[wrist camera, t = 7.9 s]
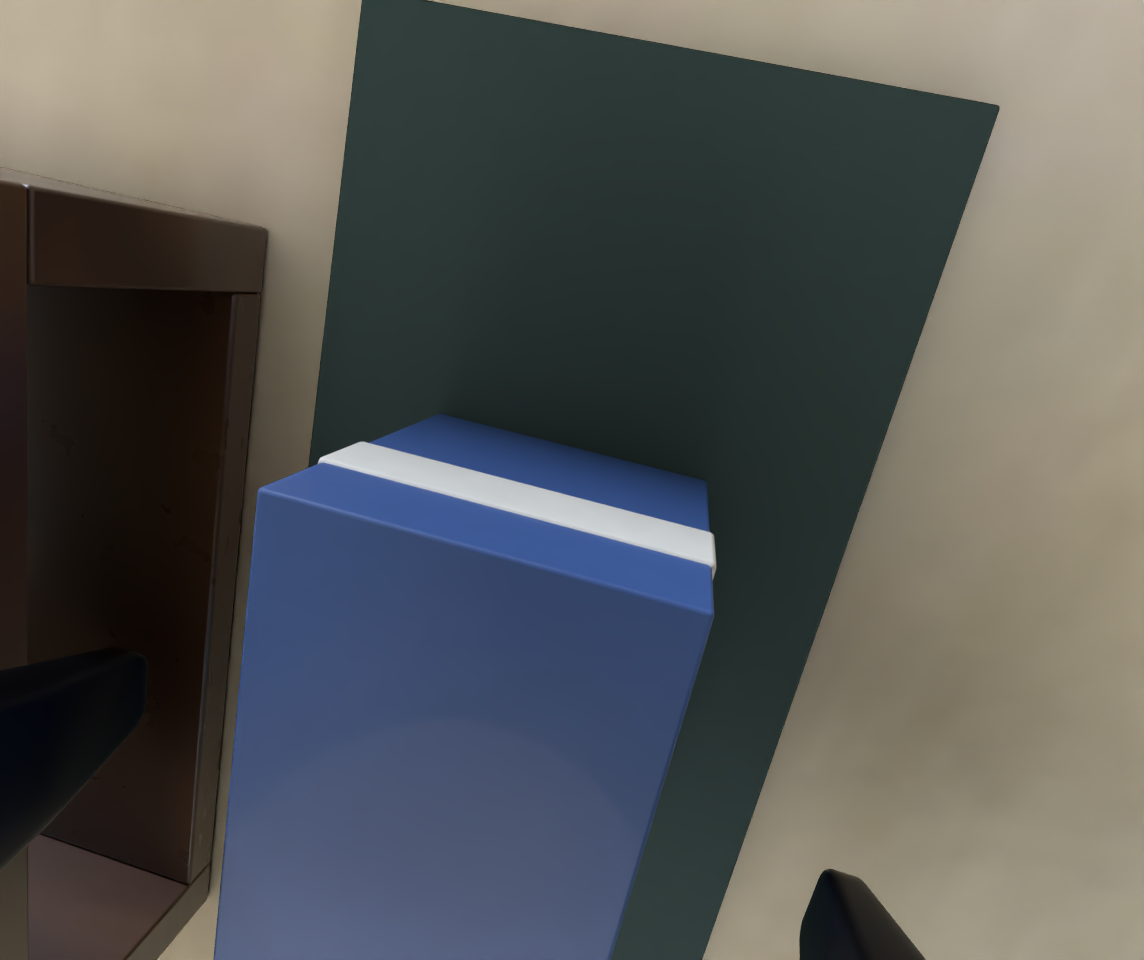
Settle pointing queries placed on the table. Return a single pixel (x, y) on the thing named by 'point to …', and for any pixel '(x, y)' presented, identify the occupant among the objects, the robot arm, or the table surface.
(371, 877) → the box
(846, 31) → the table surface
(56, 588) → the shelf
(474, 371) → the mat
